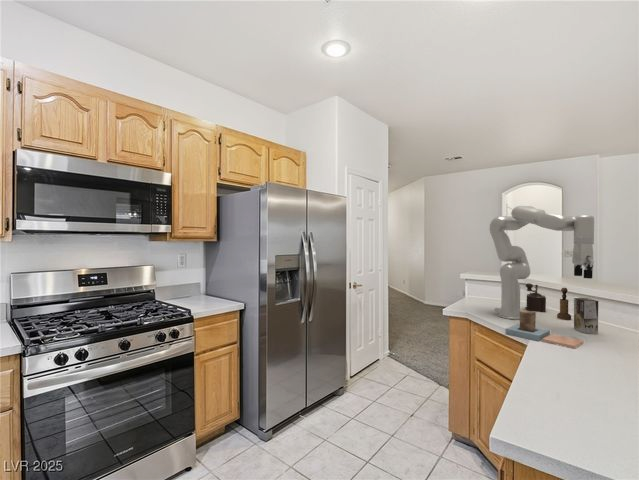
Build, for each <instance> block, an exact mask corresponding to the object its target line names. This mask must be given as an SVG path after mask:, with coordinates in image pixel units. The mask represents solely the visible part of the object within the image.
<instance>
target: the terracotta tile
mask: <svg viewBox="0 0 639 480" xmlns="http://www.w3.org/2000/svg"><path fill="white" fill-rule="evenodd" d="M541 341H543V343H547V342H549V343H548V344H551V343H553V344H552V345H556V344H558V345H557V346H560V345H561V347H565V346H566V348H569V347H571V349H574V348H575V349H577V348H579V347H580V346H582V345H583V344H584V340H583V339H578V338H572V337H568V336H562V335H558V334H553V333H550V335H549V336H547V337H545V338H543V339H542V340H541ZM578 346H579V347H578ZM576 347H577V348H576Z"/></svg>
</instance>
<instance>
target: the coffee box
mask: <svg viewBox="0 0 639 480" xmlns="http://www.w3.org/2000/svg"><path fill="white" fill-rule="evenodd" d="M599 302H600V301H599V300H595V299H592V298H588V297H573V329H574V330H576V331H578V332H581V333H583V334H593V335H598V334H599Z"/></svg>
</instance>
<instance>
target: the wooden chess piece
mask: <svg viewBox="0 0 639 480" xmlns="http://www.w3.org/2000/svg"><path fill="white" fill-rule="evenodd" d="M560 289H561V290H560V291H561V293H562V294H561V298H559V312H558V313H557V315H556V318H557V319H558V320H563V321H564V320H565V321H571V320H572V315H571V314H570V313H569V299H567V297H568V296H567V295H566V294H567V293H568V288H567V287H561V288H560Z"/></svg>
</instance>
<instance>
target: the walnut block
mask: <svg viewBox="0 0 639 480" xmlns="http://www.w3.org/2000/svg"><path fill="white" fill-rule="evenodd" d="M536 313H537V312H536V311H528V310H526V309H524V310H520V319H519V325H520V330H523V331H528V332H535V328H536V322H537V321H536V318H537V317H536V315H537V314H536Z"/></svg>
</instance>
